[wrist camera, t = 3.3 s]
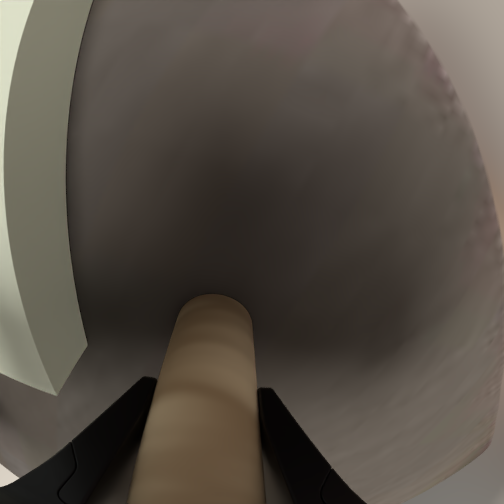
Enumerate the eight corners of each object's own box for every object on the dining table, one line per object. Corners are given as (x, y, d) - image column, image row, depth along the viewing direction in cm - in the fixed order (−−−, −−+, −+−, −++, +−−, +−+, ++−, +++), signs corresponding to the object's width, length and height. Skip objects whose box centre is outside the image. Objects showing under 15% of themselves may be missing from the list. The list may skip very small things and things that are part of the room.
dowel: (178, 351, 11) (133, 586, 2) (176, 290, 10) (88, 582, 1) (248, 357, 12) (263, 599, 2) (256, 297, 11) (290, 607, 1)
